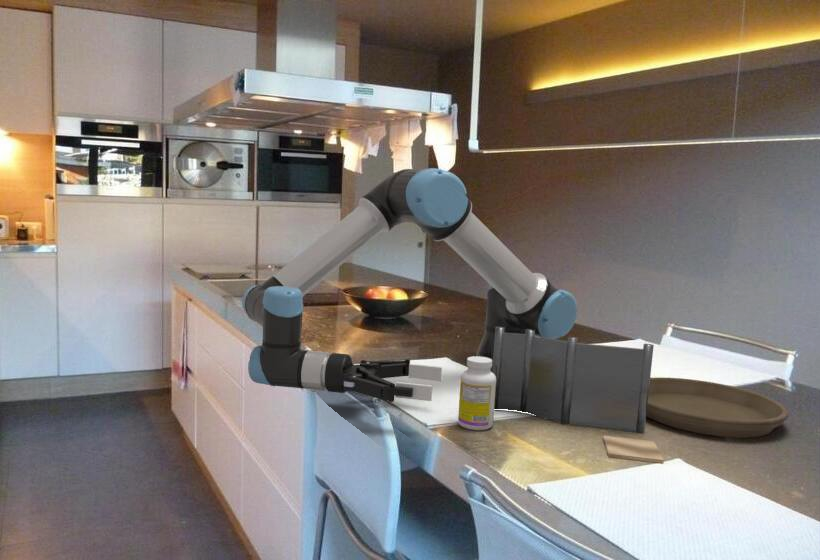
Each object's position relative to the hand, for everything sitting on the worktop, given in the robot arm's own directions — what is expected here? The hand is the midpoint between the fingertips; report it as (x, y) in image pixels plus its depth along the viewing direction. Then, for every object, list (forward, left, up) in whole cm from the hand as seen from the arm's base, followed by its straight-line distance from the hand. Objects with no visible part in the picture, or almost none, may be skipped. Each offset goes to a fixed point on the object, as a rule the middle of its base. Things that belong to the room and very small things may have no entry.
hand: (437, 383), depth 129 cm
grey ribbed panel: (-9, +25, -7) cm, 27 cm away
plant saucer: (-22, +54, -8) cm, 59 cm away
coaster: (+4, +36, -7) cm, 37 cm away
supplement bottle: (0, +8, -8) cm, 11 cm away
